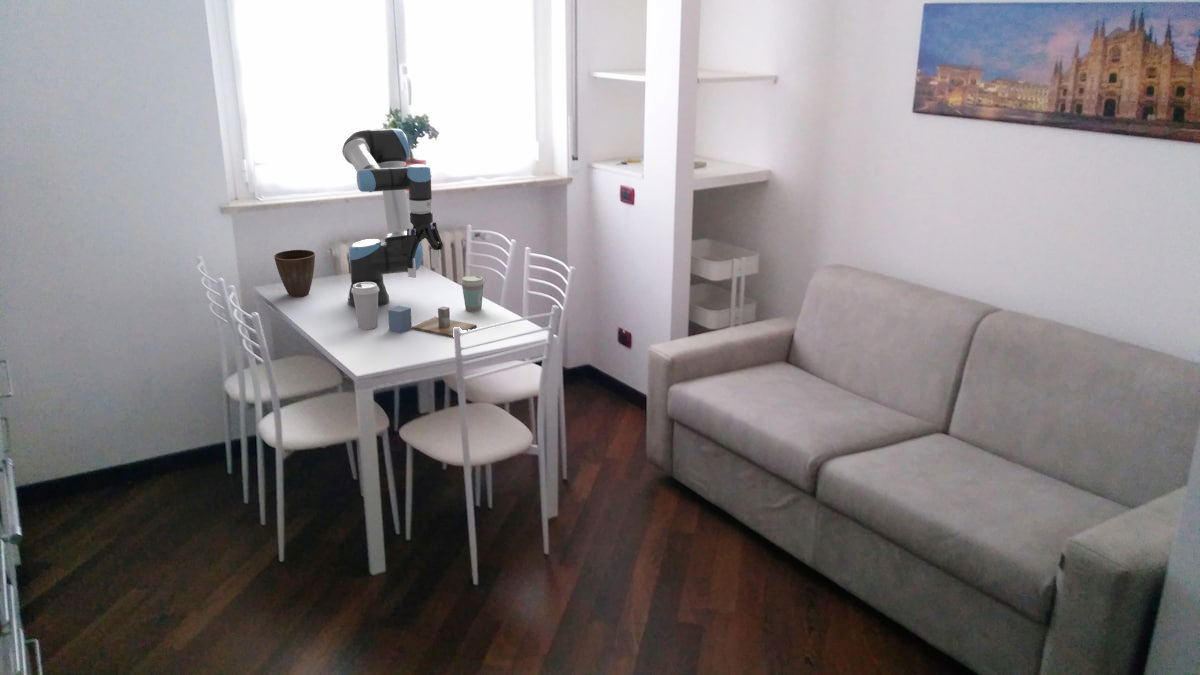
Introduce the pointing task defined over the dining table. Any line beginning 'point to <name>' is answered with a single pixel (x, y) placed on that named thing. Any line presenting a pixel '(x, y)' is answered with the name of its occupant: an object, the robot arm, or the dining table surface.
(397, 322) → the slate blue box
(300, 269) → the plant pot
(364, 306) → the coffee cup
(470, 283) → the coffee cup
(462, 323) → the post board
